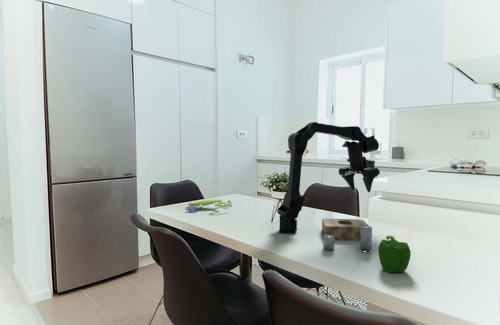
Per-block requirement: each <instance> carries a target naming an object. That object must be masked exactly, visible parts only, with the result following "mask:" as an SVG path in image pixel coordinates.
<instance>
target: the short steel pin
mask: <svg viewBox="0 0 500 325" xmlns="http://www.w3.org/2000/svg"><path fill="white" fill-rule="evenodd" d="M322 242H323V243H322V246H323V247H322V250H323V249H324V250H323V251H325V250H326V251H325V252H334V251H335V240H334V236H333V235H324V234H323V240H322ZM333 250H334V251H333Z"/></svg>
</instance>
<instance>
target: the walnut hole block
mask: <svg viewBox="0 0 500 325" xmlns="http://www.w3.org/2000/svg"><path fill="white" fill-rule="evenodd" d="M321 223H322V225H321V231H322V234H323V236H324V235H333V236H334V239H335V240H334V241H353V240H360V227H361V226H370V225H369V224H368V223H367V222H366V221H365V219H356V218H355V219H354V218H353V219H352V218H321Z"/></svg>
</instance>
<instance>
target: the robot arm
mask: <svg viewBox="0 0 500 325" xmlns="http://www.w3.org/2000/svg"><path fill="white" fill-rule="evenodd" d="M315 134H323V135H330V136H337V137H339V138H340V139H342V140H345V141H344V143H343V144H342V145H341V146H342V148H347V156H348V158H347V159H346V162H347V163H349V165H346V166H343V167H340V168H339V169H338V175H339V176H341V177H342V179H344V181H345V183H346V184H348V186H349V187H350V189H351V190H352V191H354V190H355V188H356V187H355V180H354V177H355V175H356V174H359V175H362V181H363V183H364V186H365V190H366V191H367V193H371V190H372V185H373V183H374V180H375V179H376V177H378V176H379V175H381V174H380V172H381V171H380V169H379V168H378V167H375V163H376V161H375V160H369V159H367V157H366V156H364V155H363V154H368V153H372V152H375V151H378V150H379V149H380V144H379V141H378V140H377V139H376V138H375V135H368V136H366V134H364V133H363V131H362V129H361V127H359V126H358V125H355V126H354V125H353V126H352V125H351V126H339V125H333V124H328V123H327V124H326V123H320V122H317V121H313V122H309V123H307V124H306V125H304V126H303V127H302V128H300V129H299V130H297V131H296V132H292V133H291V134H290V135H288V138H287V141H288V142H287V144H288V146H287V147H288V150H289V153H290V158H289V159H290V160H289V170H288V171H289V172H288V183H287V184H288V185H287V190H286V192H285V194H284V196H283V201H282V203H281V205H280V206H279V207H278V208H277V210H276V211H277V214H278V215H279V231H278V233H279V234H296V233H297V232H296V231H297V230H298V219H297V218H298V217H299V214H300V212H301V211H302V209H303V207H304V206H305V205H304V199H305V196H304V195H301V192H300V187H301V179H302V178H301V177H302V176H301V175H302V166H303V165H302V163H303V155H304V153H305V152H306V149H307V147H308V143H309V141H310V140H311V139H312V138H313V137H314V135H315Z"/></svg>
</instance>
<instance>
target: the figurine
mask: <svg viewBox="0 0 500 325" xmlns="http://www.w3.org/2000/svg"><path fill="white" fill-rule="evenodd" d="M213 204H214V206H215V207H218V208H224V207H233V203H232V201H231V200H229V199H228V200H227V202H226V201H224V200H222V199H221V198H208V199H207V198H206V199H202V200H201V199H200V200H197V201H193V202H188V204H187V205H188V206H187V209H188V212H190V213H197V209H200V210H201V208H202V207H203V206H206V207H207V208H209V205H213Z"/></svg>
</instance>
